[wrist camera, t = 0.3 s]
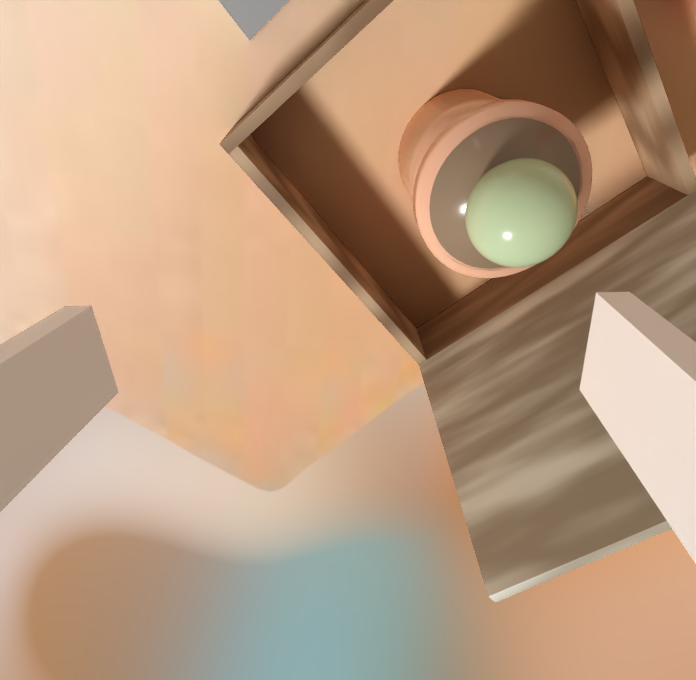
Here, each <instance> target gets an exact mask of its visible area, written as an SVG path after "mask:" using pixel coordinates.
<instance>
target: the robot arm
mask: <svg viewBox="0 0 696 680" xmlns="http://www.w3.org/2000/svg"><path fill="white" fill-rule="evenodd" d="M579 390H580V391H581V393H582V394H583V396H584V397H585V399H586V400H587V402H588V403H589V405H590V406H591V408H592V409H593V411H594V412H595V414H596V415H597V417H598V418H599V420H600V421H601V423H602V424H603V426H604V427H605V429H606V430H607V432H608V433H609V435H610V436H611V438H612V439H613V441H614V442H615V444H616V445H617V447H618V448H619V450H620V451H621V453H622V454H623V456H624V457H625V459H626V460H627V462H628V463H629V465H630V466H631V468H632V469H633V471H634V472H635V474H636V475H637V477H638V478H639V480H640V481H641V483H642V484H643V486H644V487H645V489H646V490H647V492H648V493H649V495H650V496H651V498H652V499H653V501H654V502H655V504H656V505H657V507H658V508H659V510H660V511H661V513H662V514H663V516H664V517H665V519H666V520H667V522H668V523H669V525H670V526H671V528H672V529H673V531H674V532H675V534H676V535H677V537H678V538H679V540H680V541H681V542H682V544H683V545H684V547H685V549H686V550H687V552H688V553H689V555H690V556H691V557H692V559H693V560H694V562H695V564H696V342H695V341H693V340H692V339H691V338H689V337H688V336H687V335H686V334H684V333H683V332H682V331H680V330H679V329H678V328H676V327H675V326H674V325H672V324H671V323H670V322H668V321H667V320H666V319H665V318H663V317H662V316H661V315H659V314H658V313H657V312H655V311H654V310H653V309H651V308H650V307H649V306H648V305H646V304H645V303H644V302H642V301H641V300H640V299H638V298H637V297H636V296H634V295H633V294H632V293H630V292H596V296H595V302H594V308H593V313H592V319H591V325H590V331H589V337H588V342H587V348H586V354H585V360H584V366H583V372H582V377H581V383H580V389H579ZM117 393H118V389H117V386H116V383H115V379H114V376H113V373H112V370H111V367H110V363H109V360H108V357H107V354H106V351H105V347H104V344H103V341H102V338H101V335H100V331H99V328H98V325H97V322H96V319H95V315H94V312H93V309H92V306H65V307H64V308H62V309H60V310H58V311H57V312H55V313H53V314H52V315H50V316H48V317H47V318H45V319H43V320H41V321H40V322H38V323H36V324H35V325H33V326H31V327H30V328H28V329H26V330H24V331H23V332H21V333H19V334H18V335H16V336H14V337H13V338H11V339H9V340H8V341H6V342H4V343H2V344H1V345H0V511H2V510H3V509H4V508H5V506H6V505H8V503H9V502H10V501H11V500H12V499H13V498H14V497H15V496H16V495H17V494H18V493H19V492H20V491H21V490H22V489H23V488H24V487H25V486H26V485H27V484H28V483H29V482H30V481H31V480H32V479H33V478H34V477H35V476H36V475H37V474H38V473H39V472H40V471H41V470H42V469H43V468H44V467H45V466H46V465H47V464H48V463H49V462H50V461H51V460H52V459H53V458H54V457H55V456H56V455H57V454H58V453H59V452H60V451H61V450H62V449H63V448H64V447H65V446H66V445H67V444H68V443H69V442H70V440H72V439H73V438H74V437H75V436H76V435H77V433H79V432H80V431H81V430H82V429H83V428H84V426H85V425H86V424H87V423H88V422H89V421H90V420H91V419H92V418H93V417H94V416H95V415H96V414H97V413H98V412H99V411H100V410H101V409H102V408H103V407H104V406H105V405H106V404H107V403H108V402H109V401H110V400H111V399H112V398H113V397H114V396H115V395H116V394H117Z"/></svg>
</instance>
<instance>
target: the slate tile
mask: <svg viewBox="0 0 696 680" xmlns="http://www.w3.org/2000/svg"><path fill="white" fill-rule="evenodd" d="M219 1H220V3H221V4H222V5H223V7H224V8H225V9H226V10H227V12H228V13H229V14H230V16H231V17H232V18H233V19H234V21H235V22H236V23H237V25H238V26H239V27H240V29H241V30H242V31H243V32H244V34H245V35H246V36H247V38H248V39H249V40H252V39H253V38H254V37H255V36H256V35H257V34H258V33H259V32H260V31H261V30H262V29H263V28H264V27H265V26H266V25H267V24H268V23H269V22H270V21H271V20H272V19H273V18H274V17H275V15H276V14H277V13H278V12H279V11H280V10H281V9H282V8H283V7H284V6H285V5H286V4H287V3H288V2H289V1H290V0H219Z"/></svg>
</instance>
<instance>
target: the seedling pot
mask: <svg viewBox="0 0 696 680" xmlns="http://www.w3.org/2000/svg"><path fill="white" fill-rule="evenodd" d="M398 162H399V170H400V175H401V178H402V181H403V183H404V185H405V187H406V189H407V191H408V193H409V195H410V196H411V198H412V200H413V209H414V215H415V219H416V223H417V225H418V228H419V231H420V233H421V235H422V237H423V239H424V241H425V242H426V244H427V246H428V248H429V249H430V251H431V252H432V253H433V255H434V256H435V257H436V258H437V259H438V260H439V261H440V262H442V263H443V264H444V265H446V266H447V267H448V268H450V269H452V270H454V271H456V272H458V273H461V274H464V275H467V276H472V277H478V278H497V277H503V276H508V275H512V274H515V273H518V272H521V271H523V270H526V269H528V268H530V267H532V266H534V265H536V264H538V263H540V262H542V261H544V260H546V259H548V258H550V257H551V256H553V255H554V254H555V253H556V252H558V251H559V250H560V249H561V248H562V247H563V245H564V244H565V243H566V242H567V240H568V239H569V237H570V235H571V233H572V231H573V230H574V228H575V227H576V225H577V224H578V222H579V220H580V218H581V216H582V214H583V212H584V209H585V207H586V204H587V202H588V198H589V194H590V190H591V183H592V164H591V156H590V153H589V150H588V146H587V144H586V142H585V140H584V138H583V136H582V134H581V133H580V131H579V130H578V129H577V127H576V126H575V125H574V124H573V123H572V122H571V121H570V120H569V119H568V118H566V117H565V116H563V115H562V114H561V113H559V112H557V111H555V110H553V109H551V108H548V107H546V106H543V105H540V104H537V103H534V102H530V101H526V100H518V99H505V100H501V99H499V98H497V97H494V96H492V95H489V94H487V93H485V92H482V91H479V90H474V89H456V90H451V91H448V92H445V93H442V94H440V95H438V96H436V97H434V98H433V99H431V100H430V101H428V102H427V103H426V104H424V105H423V106H422V107H421V108H420V109H419V110H418V111H417V112H416V113H415V115H414V116H413V117H412V119H411V120H410V122H409V123H408V125H407V127H406V129H405V131H404V134H403V136H402V139H401V143H400V148H399V157H398Z"/></svg>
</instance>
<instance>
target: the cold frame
mask: <svg viewBox="0 0 696 680" xmlns="http://www.w3.org/2000/svg"><path fill="white" fill-rule="evenodd" d="M392 1H393V0H366V1H365V2H364V3H363V4H362V5H361V6H360V7H359V8H357V9H356V10H355V11H354V12H353V13H352V14H351V15H350V16H349V17H348V18H347V19H346V20H345V21H344V22H343V23H342V24H341V25H340V26H339V27H338V28H337V29H336V30H334V31H333V32H332V33H331V34H330V35H329V36H328V37H327V38H326V39H325V40H324V41H323V42H322V43H321V44H320V45H319V46H318V47H317V48H316V49H315V50H314V51H313V52H311V53H310V54H309V55H308V56H307V57H306V58H305V59H304V60H303V61H302V62H301V63H300V64H299V65H298V66H297V67H296V68H295V69H294V70H293V71H292V72H291V73H290V74H288V75H287V76H286V77H285V78H284V79H283V80H282V81H281V82H280V83H279V84H278V85H277V86H276V87H275V88H274V89H273V90H272V91H271V92H270V93H269V94H268V95H266V96H265V97H264V98H263V99H262V100H261V101H260V102H259V103H258V104H257V105H256V106H255V107H254V108H253V109H252V110H251V111H250V112H249V113H248V114H247V115H246V116H245V117H243V118H242V119H241V120H240V121H239V122H238V123H237V124H236V125H235V126H234V127H233V128H232V129H231V130H230V131H229V133H228V134H227V135H226V137H225V138H224V139H223V140H222V142H221V143H220V145H221V146H222V147H223V149H224V150H225V151H226V152H227V153H228V154H229V155H230V156H231V157H232V159H233V160H234V161H235V162H236V163H237V164H238V165H239V166H240V167H241V168H242V170H243V171H244V172H245V173H246V174H247V175H248V176H249V177H250V178H251V180H252V181H253V182H254V183H255V184H256V185H257V186H258V187H259V188H260V189H261V191H262V192H263V193H264V194H265V195H266V196H267V197H268V198H269V199H270V201H271V202H272V203H273V204H274V205H275V206H276V207H277V208H278V209H279V210H280V212H281V213H282V214H283V215H284V216H285V217H286V218H287V219H288V220H289V222H290V223H291V224H292V225H293V226H294V227H295V228H296V229H297V230H298V232H299V233H300V234H301V235H302V236H303V237H304V238H305V239H306V240H307V241H308V243H309V244H310V245H311V246H312V247H313V248H314V249H315V250H316V251H317V253H318V254H319V255H320V256H321V257H322V258H323V259H324V260H325V261H326V262H327V264H328V265H329V266H330V267H331V268H332V269H333V270H334V271H335V272H336V274H337V275H338V276H339V277H340V278H341V279H342V280H343V281H344V282H345V283H346V285H347V286H348V287H349V288H350V289H351V290H352V291H353V292H354V293H355V295H356V296H357V297H358V298H359V299H360V300H361V301H362V302H363V303H364V305H365V306H366V307H367V308H368V309H369V310H370V311H371V312H372V313H373V314H374V316H375V317H376V318H377V319H378V320H379V321H380V322H381V323H382V324H383V326H384V327H385V328H386V329H387V330H388V331H389V332H390V333H391V334H392V335H393V337H394V338H395V339H396V340H397V341H398V342H399V343H400V344H401V345H402V347H403V348H404V349H405V350H406V351H407V352H408V353H409V354H410V355H411V356H412V358H413V359H414V360H415V361H416V362H417V363H418V364H419V367H420V370H421V373H422V377H423V380H424V383H425V387H426V390H427V393H428V397H429V400H430V403H431V407H432V410H433V413H434V417H435V420H436V423H437V427H438V430H439V433H440V437H441V440H442V443H443V447H444V450H445V453H446V457H447V460H448V464H449V467H450V470H451V473H452V477H453V480H454V484H455V487H456V490H457V494H458V497H459V500H460V504H461V507H462V510H463V514H464V517H465V520H466V524H467V527H468V530H469V534H470V537H471V540H472V544H473V547H474V550H475V554H476V557H477V560H478V563H479V567H480V571H481V574H482V577H483V581H484V584H485V587H486V590H487V594H488V597H490V598H491V599H492V600H493V601H495V602H498V601H500V600H502V599H504V598H507V597H510V596H512V595H514V594H517V593H519V592H521V591H523V590H526V589H528V588H531V587H533V586H536V585H538V584H541V583H543V582H545V581H548V580H550V579H553V578H555V577H557V576H560V575H562V574H564V573H567V572H569V571H572V570H574V569H576V568H579V567H581V566H584V565H586V564H588V563H591V562H593V561H596V560H598V559H600V558H603V557H605V556H608V555H610V554H612V553H615V552H617V551H619V550H622V549H624V548H627V547H629V546H632V545H634V544H636V543H639V542H641V541H644V540H646V539H648V538H651V537H653V536H655V535H658V534H660V533H663V532H665V531H668V530H670V529H672V528H671V526H670V525H669V523H668V522H667V520H666V519H665V517H664V516H663V514H662V513H661V511H660V510H659V508H658V507H657V505H656V504H655V502H654V501H653V499H652V498H651V496H650V495H649V493H648V492H647V490H646V489H645V487H644V486H643V484H642V483H641V481H640V480H639V478H638V477H637V475H636V474H635V472H634V471H633V469H632V468H631V466H630V465H629V463H628V462H627V460H626V459H625V457H624V456H623V454H622V453H621V451H620V450H619V448H618V447H617V445H616V444H615V442H614V441H613V439H612V438H611V436H610V435H609V433H608V432H607V430H606V429H605V427H604V426H603V424H602V423H601V421H600V420H599V418H598V417H597V415H596V414H595V412H594V411H593V409H592V408H591V406H590V405H589V403H588V402H587V400H586V399H585V397H584V396H583V394H582V393H581V391H580V390H579V389H580V383H581V377H582V372H583V366H584V360H585V354H586V348H587V342H588V337H589V331H590V325H591V319H592V313H593V308H594V302H595V296H596V292H630V293H632V294H633V295H634V296H636V297H637V298H638V299H640V300H641V301H642V302H644V303H645V304H646V305H648V306H649V307H650V308H651V309H653V310H654V311H655V312H657V313H658V314H659V315H661V316H662V317H663V318H665V319H666V320H667V321H668V322H670V323H671V324H672V325H674V326H675V327H676V328H678V329H679V330H680V331H682V332H683V333H684V334H686V335H687V336H688V337H689V338H691V339H692V340H693V341H695V342H696V178H695V175H694V172H693V169H692V166H691V163H690V160H689V158H688V155H687V152H686V149H685V146H684V143H683V140H682V138H681V135H680V132H679V129H678V126H677V123H676V120H675V118H674V115H673V112H672V109H671V106H670V103H669V100H668V98H667V95H666V92H665V89H664V86H663V83H662V80H661V78H660V75H659V72H658V69H657V66H656V63H655V60H654V58H653V55H652V52H651V49H650V46H649V43H648V40H647V38H646V35H645V32H644V29H643V26H642V23H641V21H640V18H639V15H638V12H637V9H636V6H635V3H634V1H633V0H576V3H577V5H578V8H579V10H580V13H581V15H582V18H583V20H584V22H585V25H586V27H587V30H588V32H589V35H590V37H591V40H592V42H593V44H594V47H595V49H596V52H597V54H598V57H599V59H600V62H601V64H602V66H603V69H604V71H605V74H606V76H607V79H608V81H609V83H610V86H611V88H612V91H613V93H614V96H615V98H616V101H617V103H618V105H619V108H620V110H621V113H622V115H623V118H624V120H625V123H626V125H627V127H628V130H629V132H630V135H631V137H632V140H633V142H634V145H635V147H636V149H637V152H638V154H639V157H640V159H641V162H642V164H643V167H644V169H645V171H646V174H647V177H646V178H644V179H643V180H641V181H640V182H638V183H637V184H635V185H634V186H632V187H631V188H629V189H627V190H626V191H624V192H623V193H621V194H620V195H618V196H617V197H615V198H614V199H612V200H611V201H609V202H608V203H606V204H605V205H603V206H602V207H600V208H599V209H597V210H596V211H594V212H593V213H591V214H590V215H588V216H587V217H585V218H584V219H582V220H580V221H579V222H578V224H577V225H576V227H575V228H574V230H573V231H572V233H571V235H570V237H569V239H568V240H567V242H566V243H565V244H564V245H563V247H562V248H561V249H560V250H559V251H558V252H556V253H555V254H554V255H553V256H551V257H550V258H548V259H546V260H544V261H542V262H540V263H538V264H536V265H534V266H532V267H530V268H528V269H526V270H523V271H521V272H518V273H515V274H512V275H508V276H503V277H497V278H493V279H491V280H490V281H488V282H486V283H485V284H483V285H482V286H480V287H479V288H477V289H476V290H474V291H473V292H471V293H470V294H468V295H467V296H465V297H464V298H462V299H461V300H459V301H458V302H456V303H455V304H453V305H452V306H450V307H449V308H447V309H446V310H444V311H443V312H441V313H439V314H438V315H436V316H435V317H433V318H432V319H430V320H429V321H427V322H426V323H424V324H423V325H421V326H420V327H418V328H417V329H416V328H415V326H414V325H413V324H412V323H411V322H410V321H409V319H408V318H407V317H406V316H405V315H404V314H403V312H402V311H401V310H400V309H399V308H398V307H397V305H396V304H395V303H394V302H393V301H392V300H391V298H390V297H389V296H388V295H387V294H386V293H385V291H384V290H383V289H382V288H381V287H380V286H379V284H378V283H377V282H376V281H375V280H374V279H373V277H372V276H371V275H370V274H369V273H368V272H367V270H366V269H365V268H364V267H363V266H362V265H361V263H360V262H359V261H358V260H357V259H356V258H355V256H354V255H353V254H352V253H351V252H350V251H349V249H348V248H347V247H346V246H345V245H344V244H343V242H342V241H341V240H340V239H339V238H338V237H337V235H336V234H335V233H334V232H333V231H332V230H331V228H330V227H329V226H328V225H327V224H326V223H325V221H324V220H323V219H322V218H321V217H320V216H319V215H318V213H317V212H316V211H315V210H314V209H313V208H312V206H311V205H310V204H309V203H308V202H307V201H306V199H305V198H304V197H303V196H302V195H301V194H300V192H299V191H298V190H297V189H296V188H295V187H294V185H293V184H292V183H291V182H290V181H289V180H288V178H287V177H286V176H285V175H284V174H283V173H282V171H281V170H280V169H279V168H278V167H277V166H276V164H275V163H274V162H273V161H272V160H271V159H270V157H269V156H268V155H267V154H266V153H265V152H264V150H263V149H262V148H261V147H260V146H259V145H258V143H257V142H256V141H255V140H254V139H253V138H252V136H251V135H250V134H251V133H252V132H253V131H254V130H255V129H256V128H257V127H259V126H260V125H261V124H262V123H263V122H264V121H265V120H266V119H267V118H268V117H269V116H270V115H271V114H272V113H274V112H275V111H276V110H277V109H278V108H279V107H280V106H281V105H282V104H283V103H284V102H285V101H286V100H287V99H288V98H290V97H291V96H292V95H293V94H294V93H295V92H296V91H297V90H298V89H299V88H300V87H301V86H302V85H303V84H305V83H306V82H307V81H308V80H309V79H310V78H311V77H312V76H313V75H314V74H315V73H316V72H317V71H318V70H319V69H321V68H322V67H323V66H324V65H325V64H326V63H327V62H328V61H329V60H330V59H331V58H332V57H333V56H334V55H336V54H337V53H338V52H339V51H340V50H341V49H342V48H343V47H344V46H345V45H346V44H347V43H348V42H349V41H351V40H352V39H353V38H354V37H355V36H356V35H357V34H358V33H359V32H360V31H361V30H362V29H363V28H364V27H365V26H367V25H368V24H369V23H370V22H371V21H372V20H373V19H374V18H375V17H376V16H377V15H378V14H379V13H380V12H382V11H383V10H384V9H385V8H386V7H387V6H388V5H389V4H390V3H391V2H392Z"/></svg>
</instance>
